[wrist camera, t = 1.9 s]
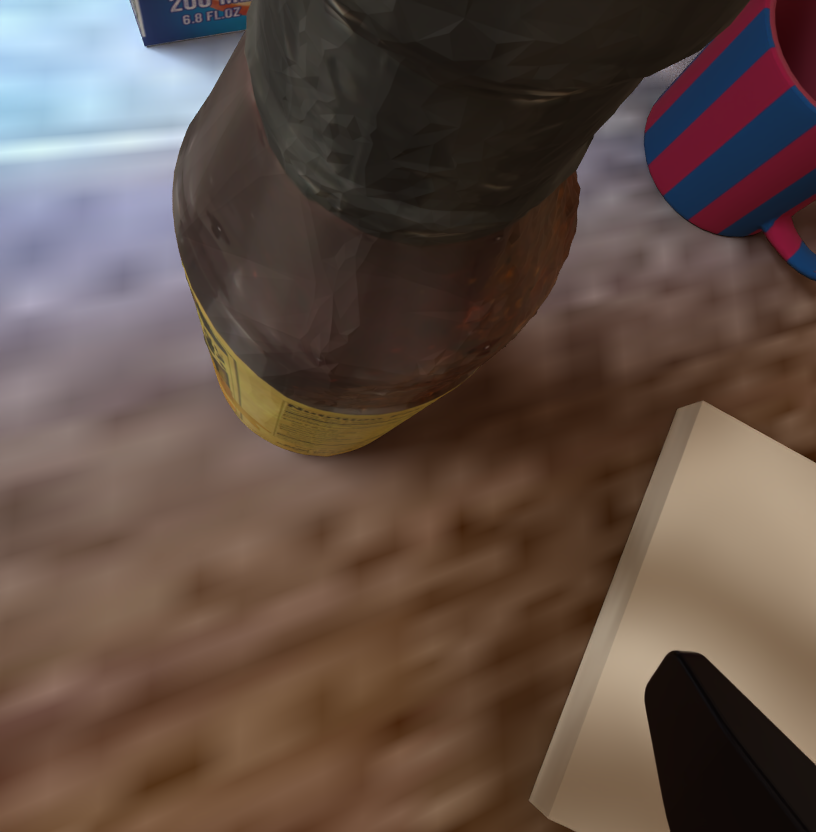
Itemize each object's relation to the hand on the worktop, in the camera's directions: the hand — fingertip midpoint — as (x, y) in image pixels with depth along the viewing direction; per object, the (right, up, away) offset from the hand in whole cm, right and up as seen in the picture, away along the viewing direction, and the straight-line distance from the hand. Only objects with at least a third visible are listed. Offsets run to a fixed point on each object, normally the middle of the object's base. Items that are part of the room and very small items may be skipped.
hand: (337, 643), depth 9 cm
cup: (+13, +11, +19) cm, 26 cm away
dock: (+13, -6, +15) cm, 21 cm away
